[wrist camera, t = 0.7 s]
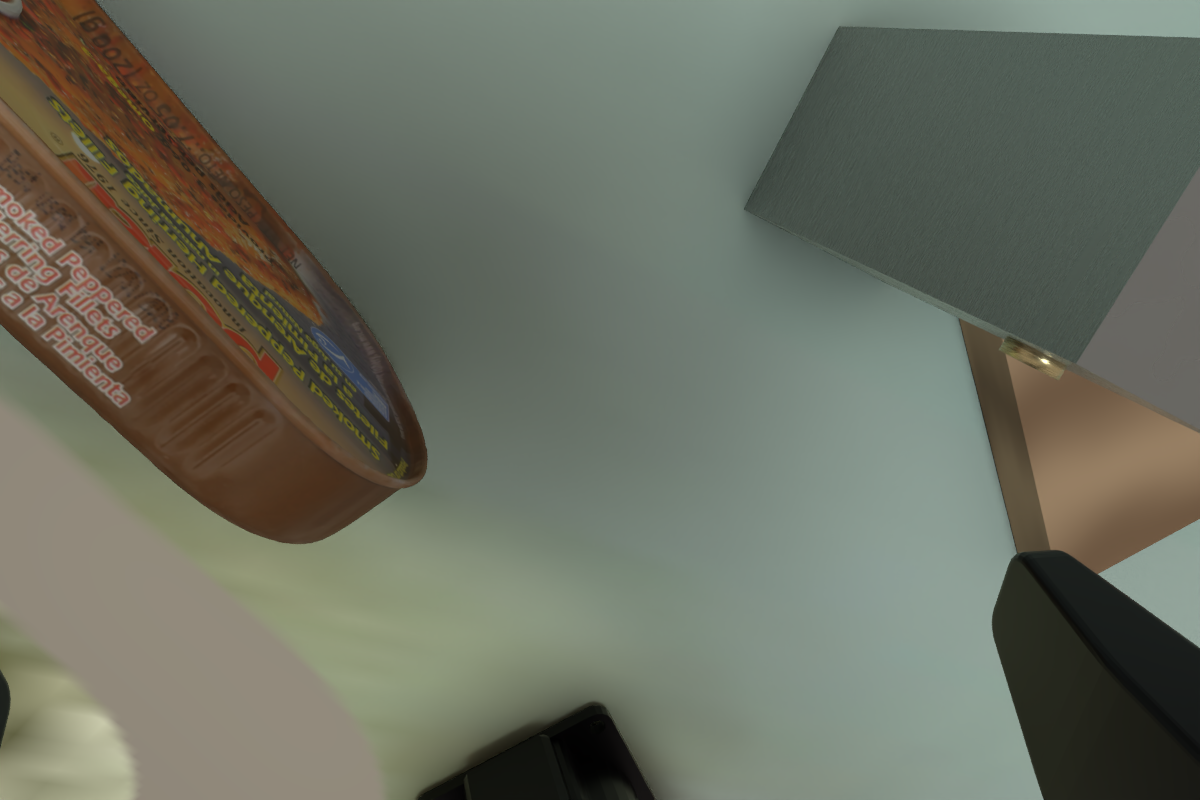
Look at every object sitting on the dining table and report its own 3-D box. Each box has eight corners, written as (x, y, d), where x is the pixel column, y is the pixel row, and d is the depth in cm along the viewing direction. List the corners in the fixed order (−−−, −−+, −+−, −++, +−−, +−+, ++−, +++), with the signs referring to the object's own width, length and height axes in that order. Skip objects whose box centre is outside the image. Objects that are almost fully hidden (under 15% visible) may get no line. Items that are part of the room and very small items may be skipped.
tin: (421, 381, 25) (466, 541, 18) (322, 455, 25) (324, 646, 18) (-74, -201, 18) (-347, -348, 11) (-208, -100, 19) (-569, -177, 11)
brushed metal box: (981, 117, 26) (1470, 196, 15) (881, 293, 28) (1268, 486, 16) (839, 26, 25) (1278, 40, 13) (738, 219, 26) (1064, 381, 14)
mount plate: (1296, 413, 34) (1351, 436, 32) (1019, 561, 33) (1060, 593, 31) (1269, 74, 28) (1333, 78, 27) (939, 239, 27) (982, 255, 26)
